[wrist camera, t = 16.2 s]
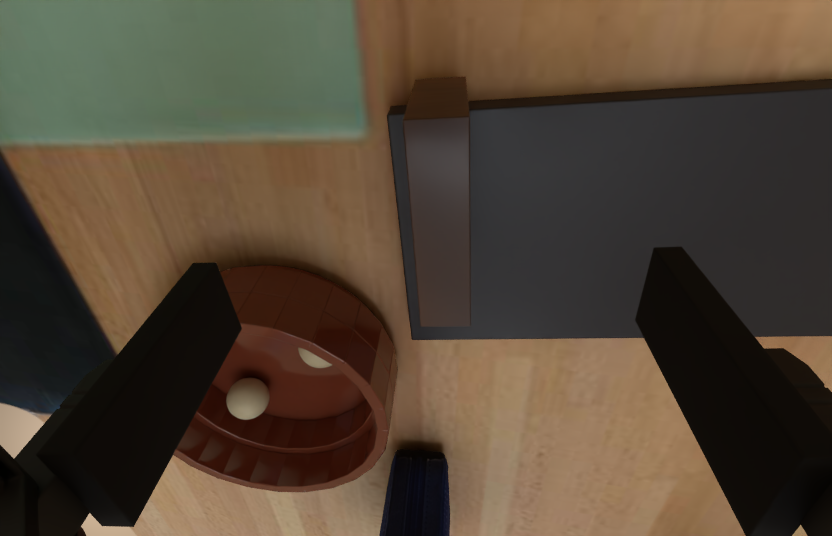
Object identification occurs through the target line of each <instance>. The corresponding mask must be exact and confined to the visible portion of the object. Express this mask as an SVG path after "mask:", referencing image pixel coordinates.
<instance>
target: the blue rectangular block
mask: <svg viewBox="0 0 832 536" xmlns="http://www.w3.org/2000/svg"><path fill="white" fill-rule="evenodd" d="M449 529H450V505H449V482H448V464H447V460H446V458H445V455H444V454H443V453H442V452H438V451H422V450H406V449H399V450H397V451H396V452H395V455H394V458H393V461H392V464H391V471H390V476H389V481H388V486H387V493H386V499H385V505H384V511H383V517H382V523H381V529H380V536H449Z"/></svg>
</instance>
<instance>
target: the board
mask: <svg viewBox="0 0 832 536" xmlns="http://www.w3.org/2000/svg"><path fill="white" fill-rule="evenodd" d="M468 104H469V113H470V240H471V326H459V327H421V326H420V316H419V305H418V294H417V282H416V271H415V259H414V248H413V236H412V225H411V213H410V202H409V190H408V179H407V168H406V156H405V145H404V133H403V122H402V121H403V118H404V114H405V111H406V108H407V105H401V106H391V107H390V110H389V112H388V114H387V120H388V129H389V138H390V147H391V156H392V165H393V174H394V183H395V192H396V201H397V210H398V219H399V228H400V237H401V246H402V255H403V264H404V273H405V282H406V291H407V300H408V309H409V318H410V327H411V336H412V340H454V339H561V338H644V337H643V335H642V333H641V331H640V329H639V327H638V325H637V323H636V321H635V318H636V314H637V310H638V307H639V303H640V299H641V295H642V291H643V287H644V283H645V279H646V276H647V272H648V268H649V264H650V260H651V256H652V252H653V248H654V247H681V246H682V247H683V249H684V250H685V251H686V252H687V254H688V255H689V256H690V257H691V259H692V260H693V261H694V262H695V264H696V265H697V266H698V267H699V269H700V270H701V271H702V272H703V274H704V275H705V276H706V277H707V279H708V280H709V281H710V282H711V283H712V285H713V286H714V287H715V288H716V290H717V291H718V292H719V293H720V295H721V296H722V297H723V298H724V300H725V301H726V302H727V303H728V305H729V306H730V307H731V308H732V310H733V311H734V312H735V313H736V315H737V316H738V317H739V318H740V320H741V321H742V322H743V323H744V325H745V326H746V327H747V328H748V329H749V331H750V332H751V333H752V334H753V336H754V337H774V336H832V79H826V80H809V81H793V82H777V83H760V84H744V85H728V86H711V87H695V88H679V89H662V90H646V91H630V92H613V93H597V94H581V95H564V96H548V97H532V98H515V99H499V100H483V101H468Z"/></svg>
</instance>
